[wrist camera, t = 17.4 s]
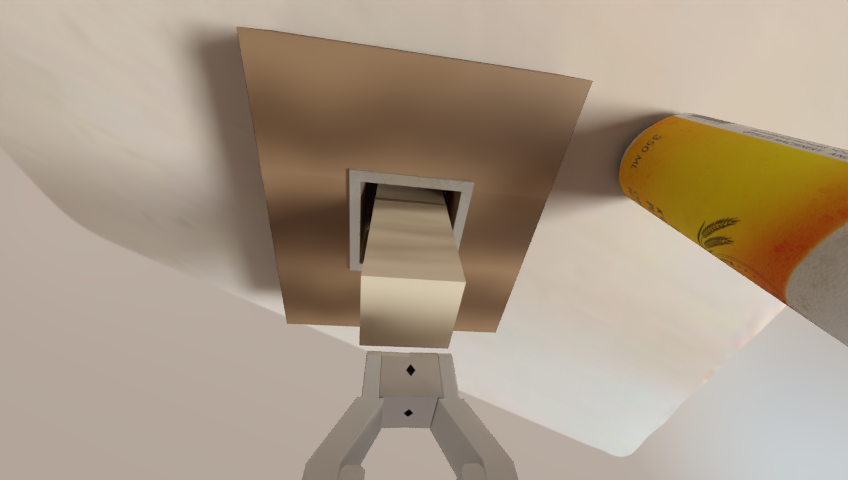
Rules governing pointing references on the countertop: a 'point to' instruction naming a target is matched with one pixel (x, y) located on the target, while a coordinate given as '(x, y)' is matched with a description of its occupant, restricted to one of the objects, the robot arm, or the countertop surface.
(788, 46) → the countertop surface
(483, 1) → the countertop surface
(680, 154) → the beer can
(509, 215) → the walnut board
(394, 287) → the birch peg
